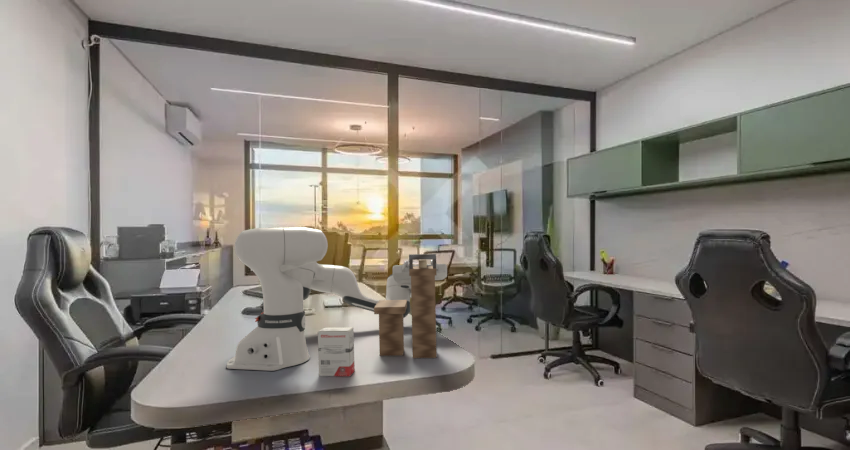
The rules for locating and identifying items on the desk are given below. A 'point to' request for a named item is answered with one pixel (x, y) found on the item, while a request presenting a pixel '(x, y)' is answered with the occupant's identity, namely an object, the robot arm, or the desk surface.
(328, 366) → the ink box
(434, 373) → the desk surface
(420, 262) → the handle
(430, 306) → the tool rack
